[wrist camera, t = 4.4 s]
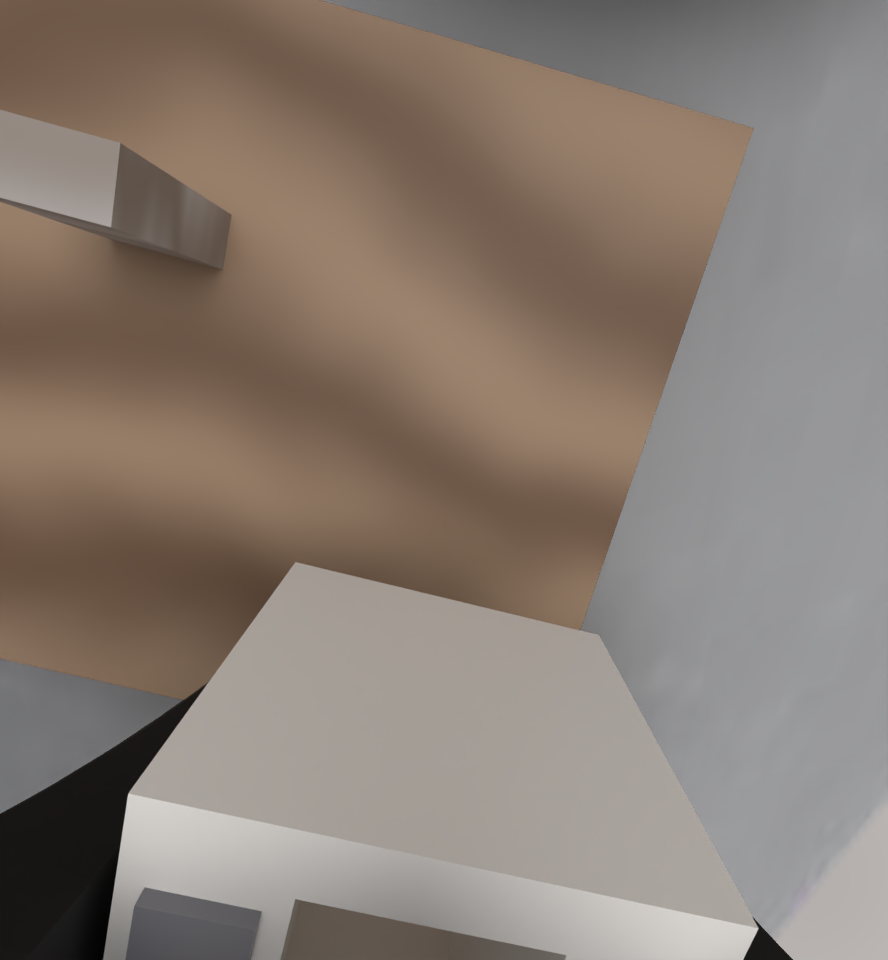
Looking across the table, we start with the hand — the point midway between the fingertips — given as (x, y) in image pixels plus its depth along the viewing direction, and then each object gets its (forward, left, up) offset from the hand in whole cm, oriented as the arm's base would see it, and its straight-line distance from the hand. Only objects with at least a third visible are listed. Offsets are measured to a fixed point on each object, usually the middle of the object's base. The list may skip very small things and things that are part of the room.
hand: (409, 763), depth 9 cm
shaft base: (+4, +5, -9) cm, 11 cm away
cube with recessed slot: (0, 0, -1) cm, 1 cm away
